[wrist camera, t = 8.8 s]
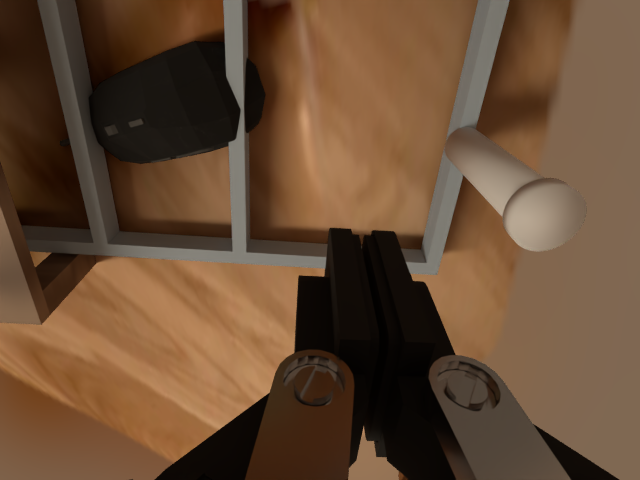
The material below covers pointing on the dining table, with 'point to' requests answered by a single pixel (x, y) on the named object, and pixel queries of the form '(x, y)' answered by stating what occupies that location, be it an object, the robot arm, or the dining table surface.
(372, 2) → the dining table surface
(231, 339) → the dining table surface
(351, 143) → the dining table surface
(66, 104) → the gray frame
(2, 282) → the tunnel
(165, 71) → the gaming mouse
